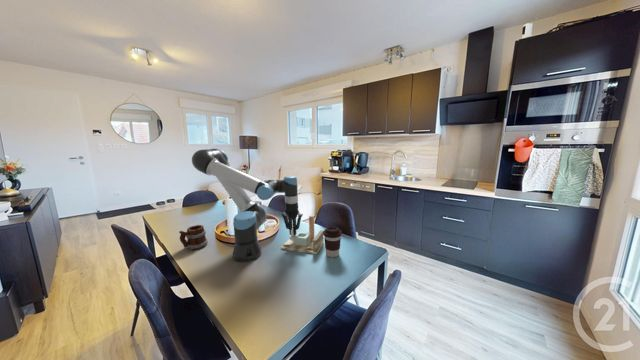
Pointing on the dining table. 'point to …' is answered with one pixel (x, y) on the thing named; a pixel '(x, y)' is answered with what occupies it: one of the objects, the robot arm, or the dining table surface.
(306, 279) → the dining table surface
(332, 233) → the coffee cup
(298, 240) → the block
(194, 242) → the mug
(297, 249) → the board
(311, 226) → the dowel
